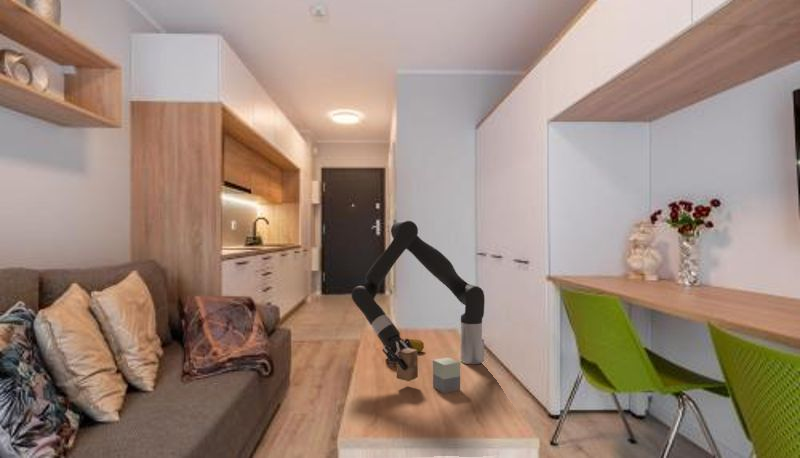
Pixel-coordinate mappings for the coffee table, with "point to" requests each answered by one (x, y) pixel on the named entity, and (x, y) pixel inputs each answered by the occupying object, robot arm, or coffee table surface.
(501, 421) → the coffee table surface
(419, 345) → the food
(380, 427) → the coffee table surface
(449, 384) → the tower base
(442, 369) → the tower top
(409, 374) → the walnut block
